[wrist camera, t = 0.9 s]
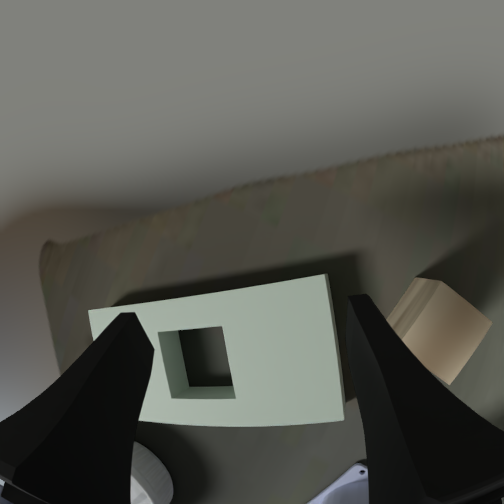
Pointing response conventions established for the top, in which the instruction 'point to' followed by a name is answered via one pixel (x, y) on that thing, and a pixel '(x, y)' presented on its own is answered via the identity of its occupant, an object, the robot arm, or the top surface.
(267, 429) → the top surface
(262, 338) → the socket block
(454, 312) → the peg
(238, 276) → the top surface
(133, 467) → the ramekin
